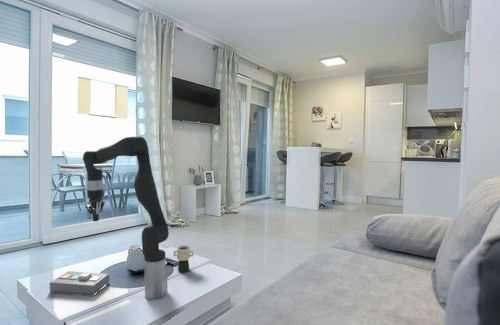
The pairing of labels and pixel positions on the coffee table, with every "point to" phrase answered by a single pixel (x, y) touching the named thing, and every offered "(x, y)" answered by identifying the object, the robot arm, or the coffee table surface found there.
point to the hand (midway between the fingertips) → (96, 220)
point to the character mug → (183, 257)
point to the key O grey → (85, 276)
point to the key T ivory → (94, 278)
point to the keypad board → (78, 284)
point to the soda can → (134, 248)
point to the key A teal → (74, 277)
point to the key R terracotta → (66, 276)
